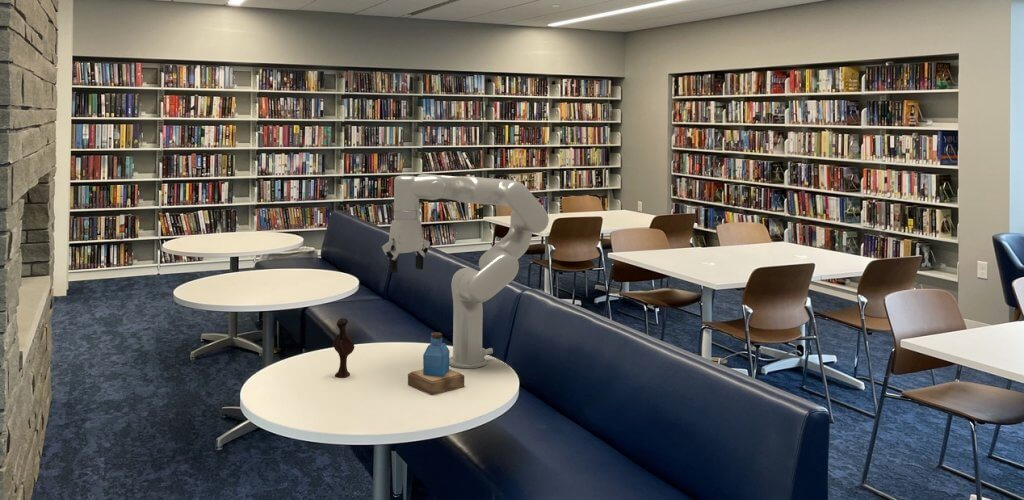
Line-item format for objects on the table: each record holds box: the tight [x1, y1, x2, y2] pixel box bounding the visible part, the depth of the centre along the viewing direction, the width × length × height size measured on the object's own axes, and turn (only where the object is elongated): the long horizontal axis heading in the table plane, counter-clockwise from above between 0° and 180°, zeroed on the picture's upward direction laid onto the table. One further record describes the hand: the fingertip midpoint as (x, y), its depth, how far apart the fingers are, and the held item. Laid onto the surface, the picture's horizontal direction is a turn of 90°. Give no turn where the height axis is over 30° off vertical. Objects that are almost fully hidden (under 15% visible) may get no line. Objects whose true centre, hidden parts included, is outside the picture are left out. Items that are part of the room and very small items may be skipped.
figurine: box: [332, 317, 355, 379], centre depth 243 cm, size 7×5×18 cm
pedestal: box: [407, 368, 465, 396], centre depth 236 cm, size 12×12×4 cm
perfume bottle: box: [422, 331, 450, 377], centre depth 235 cm, size 6×6×12 cm
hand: (406, 270), depth 246 cm, fingers open, 9 cm apart
